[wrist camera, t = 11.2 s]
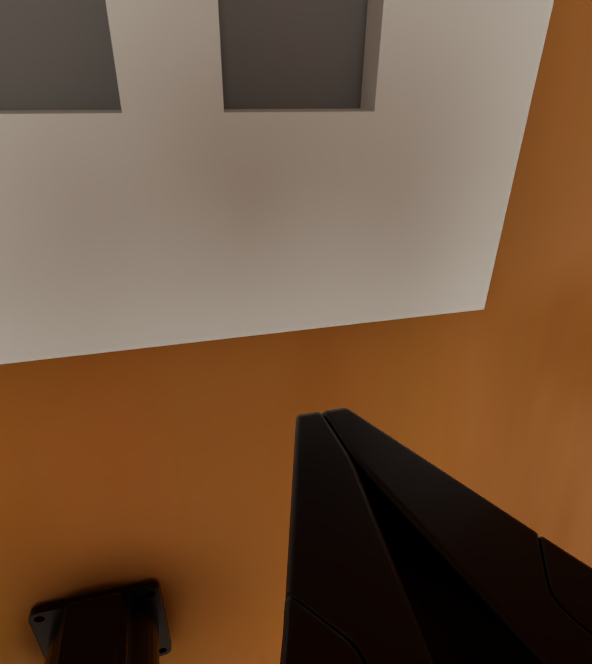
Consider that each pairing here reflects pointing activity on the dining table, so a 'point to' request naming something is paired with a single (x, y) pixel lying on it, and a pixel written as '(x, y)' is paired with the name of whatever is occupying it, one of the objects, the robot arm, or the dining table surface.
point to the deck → (252, 164)
